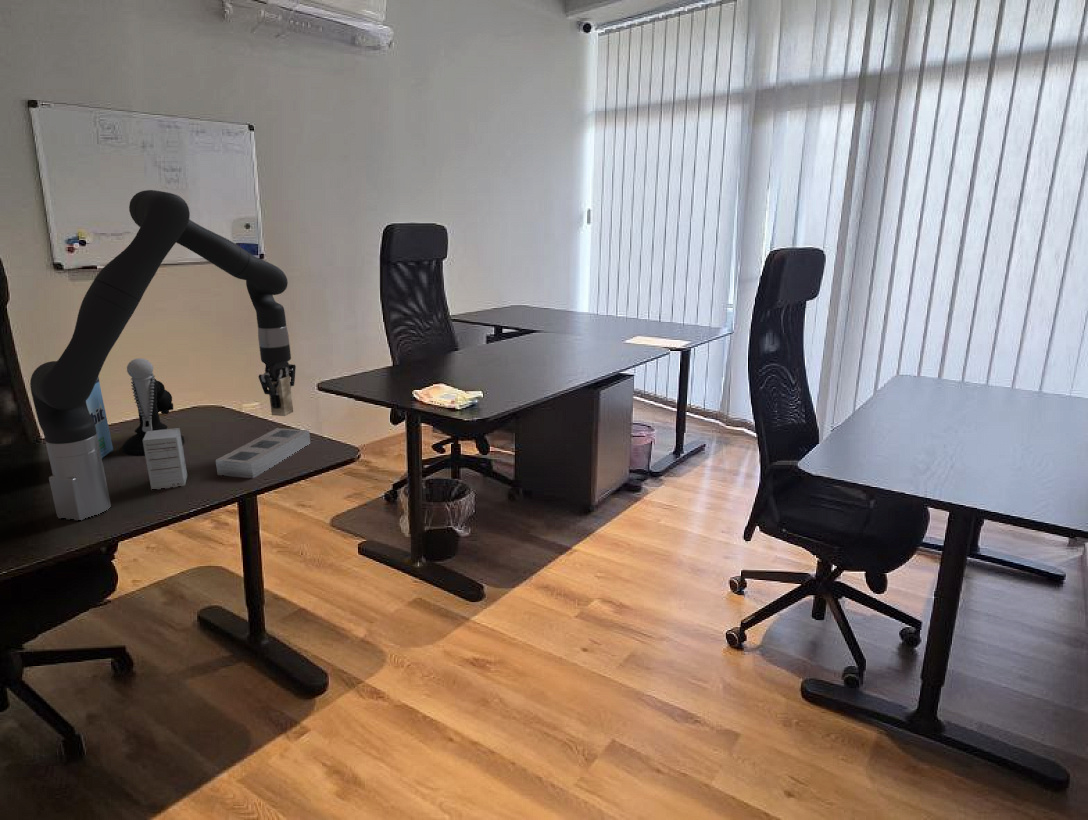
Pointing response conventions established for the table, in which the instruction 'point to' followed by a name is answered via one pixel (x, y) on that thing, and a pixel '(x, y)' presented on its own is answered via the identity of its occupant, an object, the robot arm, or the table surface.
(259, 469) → the grey slotted tray
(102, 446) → the gum box
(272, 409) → the maple block
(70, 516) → the robot arm
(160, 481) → the supplement box
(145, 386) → the sculpture
